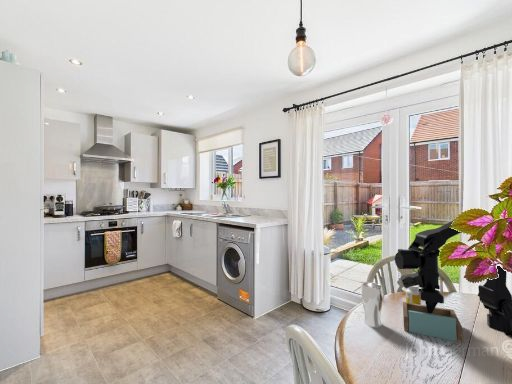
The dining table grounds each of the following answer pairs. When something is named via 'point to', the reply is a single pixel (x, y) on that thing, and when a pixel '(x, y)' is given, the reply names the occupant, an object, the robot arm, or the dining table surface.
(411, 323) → the panel
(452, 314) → the crate
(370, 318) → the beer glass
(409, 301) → the supplement bottle
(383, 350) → the dining table surface
